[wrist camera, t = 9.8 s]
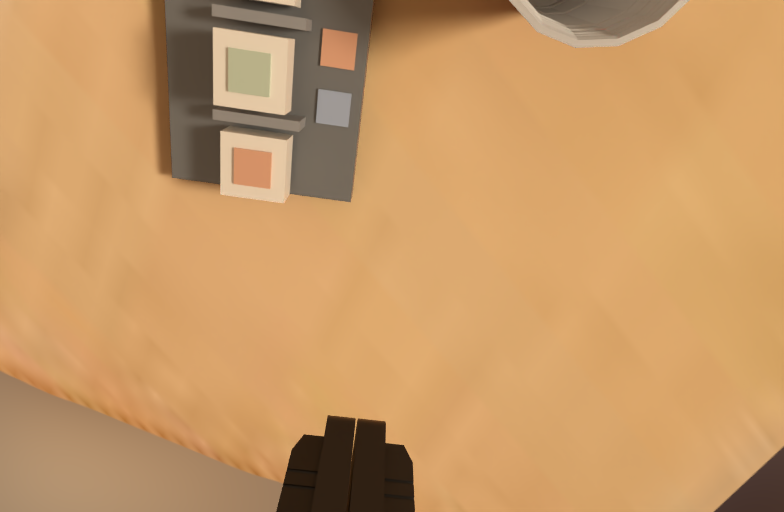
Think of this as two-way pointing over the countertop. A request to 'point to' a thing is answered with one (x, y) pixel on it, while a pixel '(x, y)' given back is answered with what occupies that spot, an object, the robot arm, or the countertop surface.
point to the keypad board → (309, 89)
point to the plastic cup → (596, 19)
